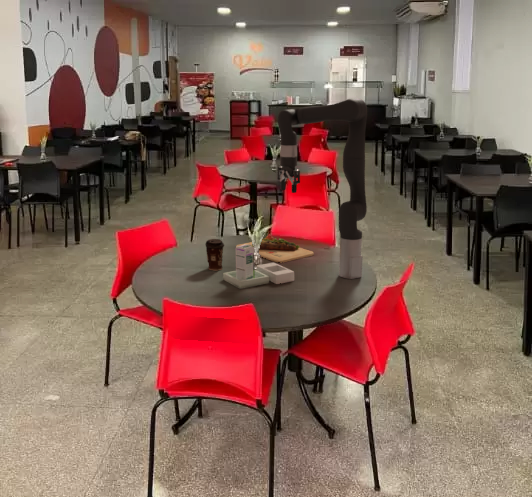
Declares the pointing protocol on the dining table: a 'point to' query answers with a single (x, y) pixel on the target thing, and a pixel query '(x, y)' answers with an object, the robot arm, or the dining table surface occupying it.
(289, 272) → the holder
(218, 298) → the dining table surface
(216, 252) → the coffee cup
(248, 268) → the syrup box
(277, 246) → the cutting board
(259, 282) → the tray
